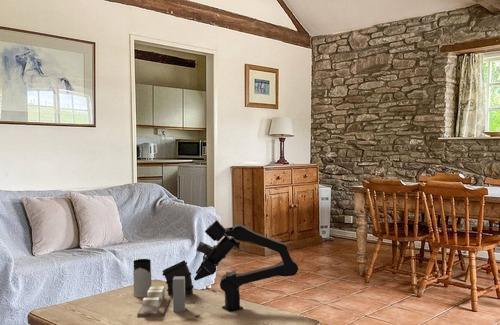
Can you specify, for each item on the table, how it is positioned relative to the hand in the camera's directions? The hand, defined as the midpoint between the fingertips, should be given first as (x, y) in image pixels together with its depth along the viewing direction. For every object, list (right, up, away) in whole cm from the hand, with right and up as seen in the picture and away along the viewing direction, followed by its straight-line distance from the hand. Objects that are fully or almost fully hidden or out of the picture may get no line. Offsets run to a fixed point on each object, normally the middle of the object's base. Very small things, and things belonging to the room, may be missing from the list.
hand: (195, 276), depth 195 cm
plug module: (-7, -13, 0) cm, 15 cm away
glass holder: (-26, -13, +25) cm, 38 cm away
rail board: (-17, -13, +3) cm, 22 cm away
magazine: (-10, -13, +21) cm, 27 cm away
